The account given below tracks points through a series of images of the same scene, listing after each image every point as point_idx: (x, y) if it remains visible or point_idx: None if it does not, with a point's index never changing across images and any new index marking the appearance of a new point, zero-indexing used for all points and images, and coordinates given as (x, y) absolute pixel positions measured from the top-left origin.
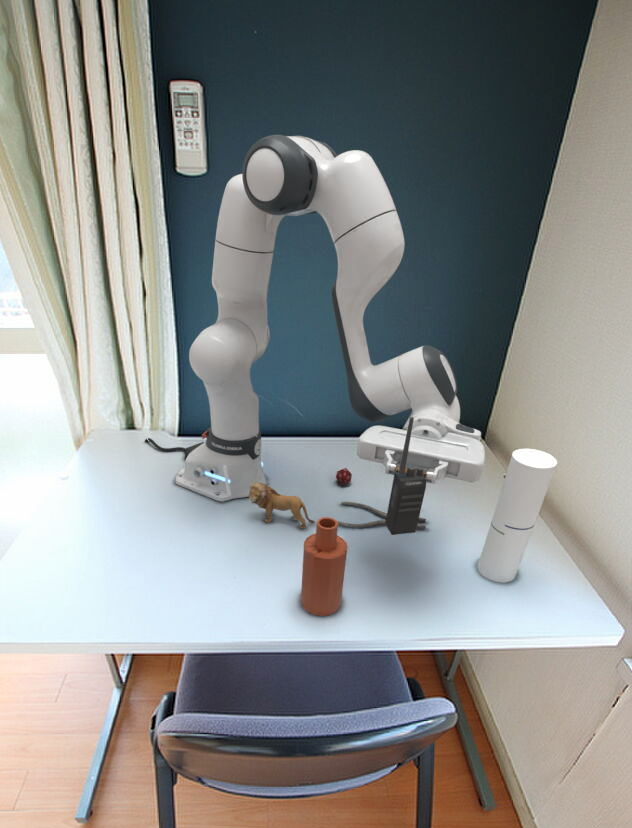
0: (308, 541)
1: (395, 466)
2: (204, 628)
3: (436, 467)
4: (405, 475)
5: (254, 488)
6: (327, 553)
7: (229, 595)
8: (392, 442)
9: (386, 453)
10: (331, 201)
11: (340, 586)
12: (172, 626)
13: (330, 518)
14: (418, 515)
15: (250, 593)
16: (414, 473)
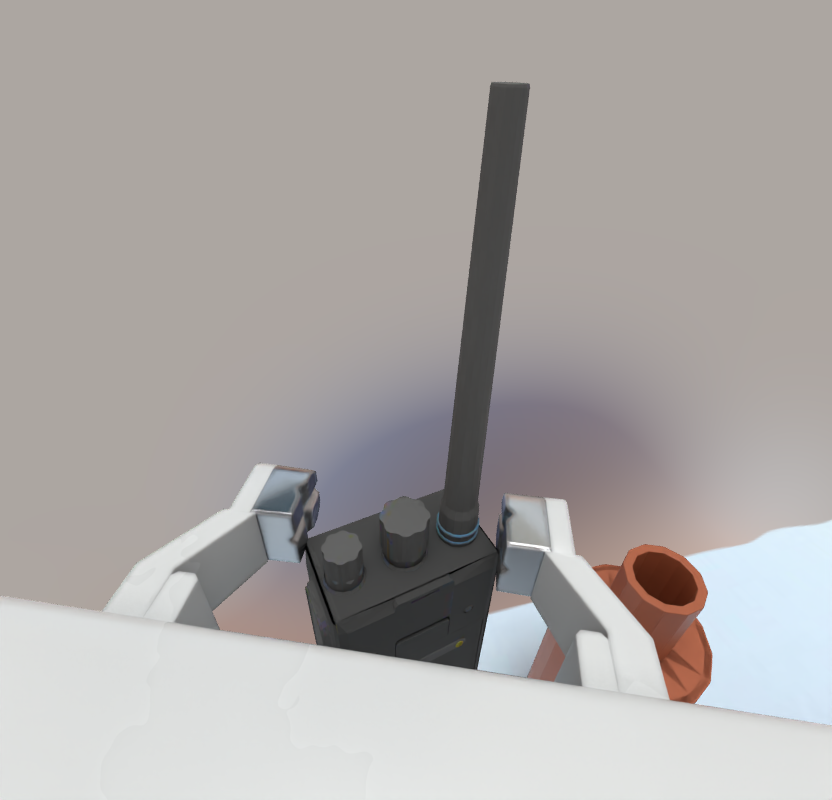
0: (692, 632)
1: (505, 494)
2: (735, 573)
3: (235, 527)
4: (431, 543)
5: None
6: None
7: (784, 682)
8: (681, 793)
9: (632, 623)
10: None
11: (533, 664)
12: (787, 563)
13: (673, 607)
14: None
15: (749, 705)
16: (380, 540)
